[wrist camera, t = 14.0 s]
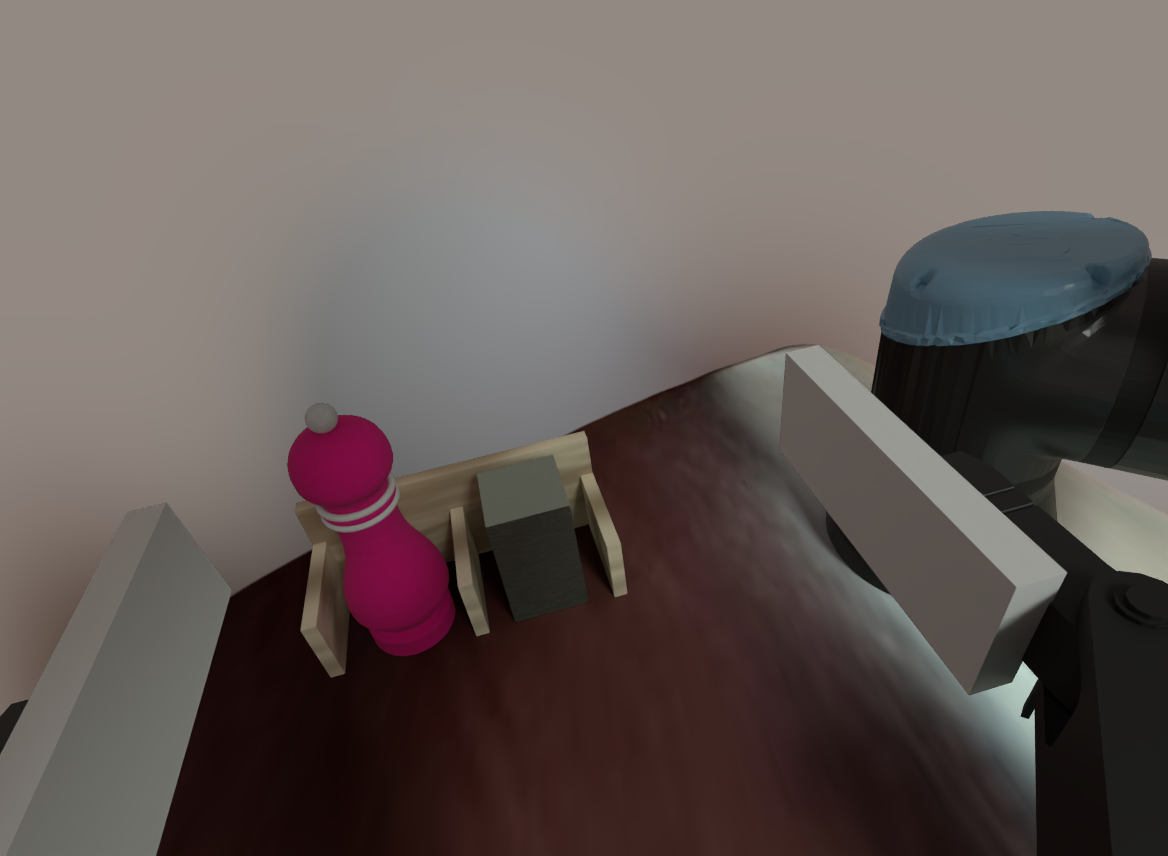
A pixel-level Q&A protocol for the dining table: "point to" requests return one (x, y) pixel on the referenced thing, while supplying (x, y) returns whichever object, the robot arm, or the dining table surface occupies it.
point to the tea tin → (532, 537)
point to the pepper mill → (372, 532)
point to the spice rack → (451, 536)
